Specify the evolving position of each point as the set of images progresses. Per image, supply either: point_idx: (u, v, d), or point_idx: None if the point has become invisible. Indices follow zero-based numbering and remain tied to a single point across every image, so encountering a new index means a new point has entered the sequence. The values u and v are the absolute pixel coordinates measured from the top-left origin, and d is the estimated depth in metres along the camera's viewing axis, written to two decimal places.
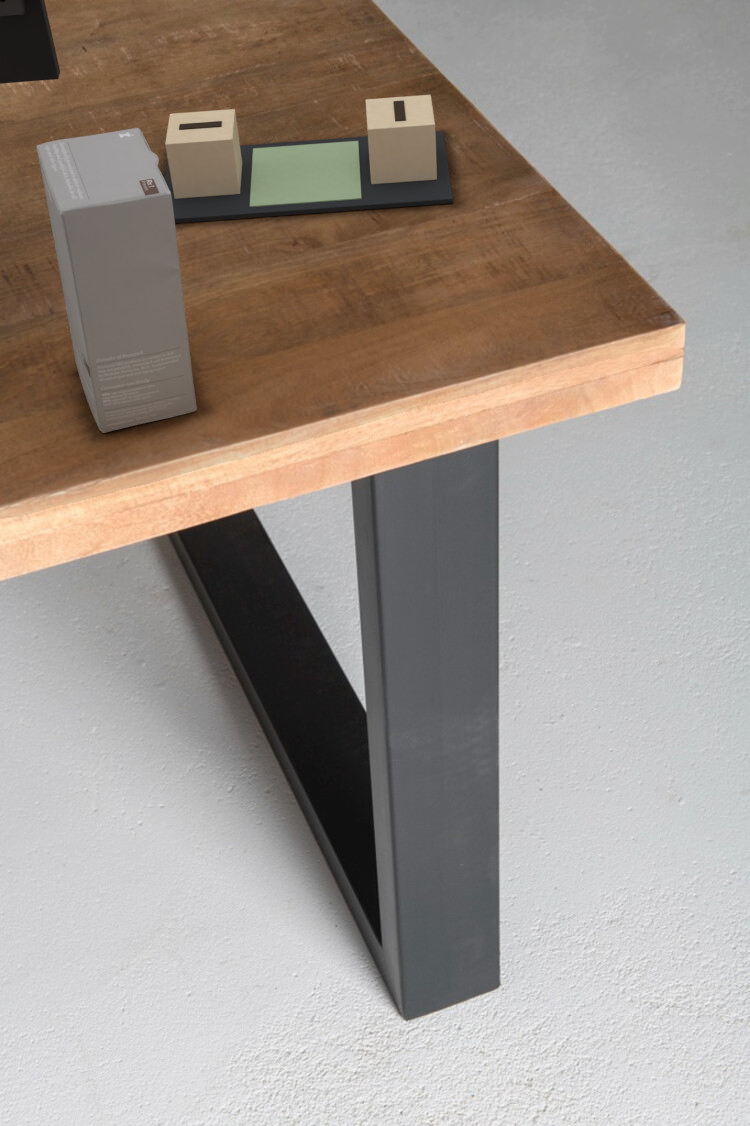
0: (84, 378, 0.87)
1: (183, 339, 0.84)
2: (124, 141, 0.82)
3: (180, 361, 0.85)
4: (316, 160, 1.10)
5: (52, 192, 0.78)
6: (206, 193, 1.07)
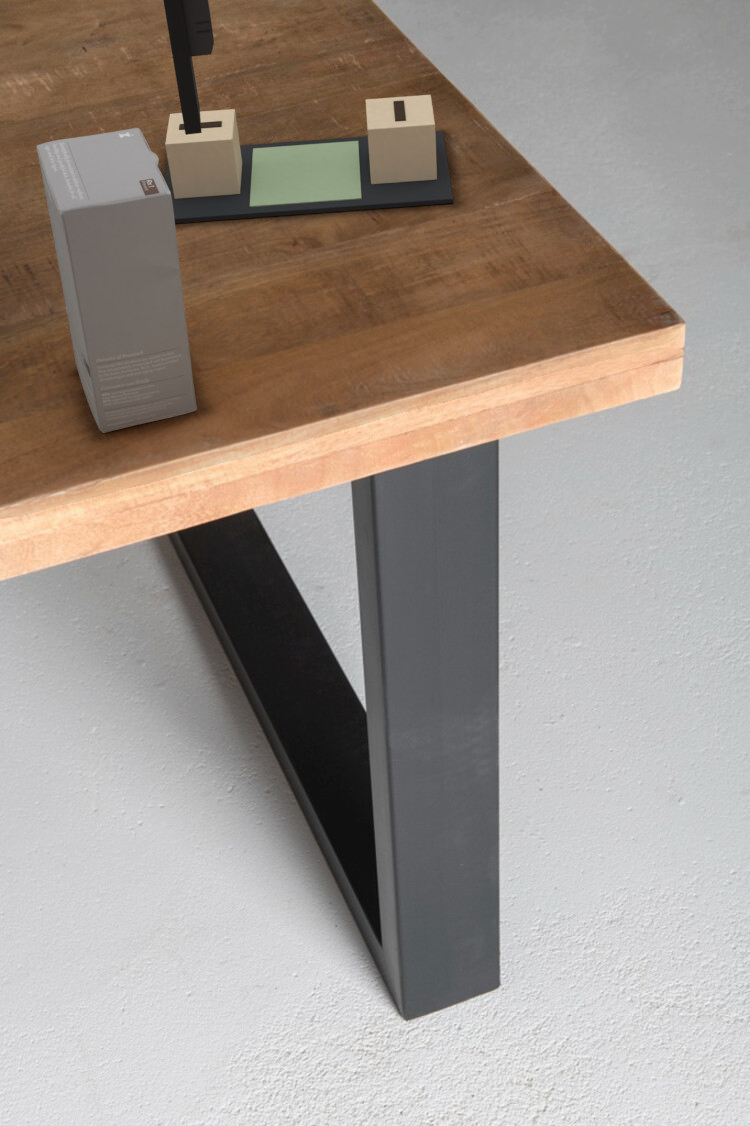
0: (84, 378, 0.87)
1: (183, 339, 0.84)
2: (124, 141, 0.82)
3: (180, 361, 0.85)
4: (316, 160, 1.10)
5: (52, 192, 0.78)
6: (206, 193, 1.07)
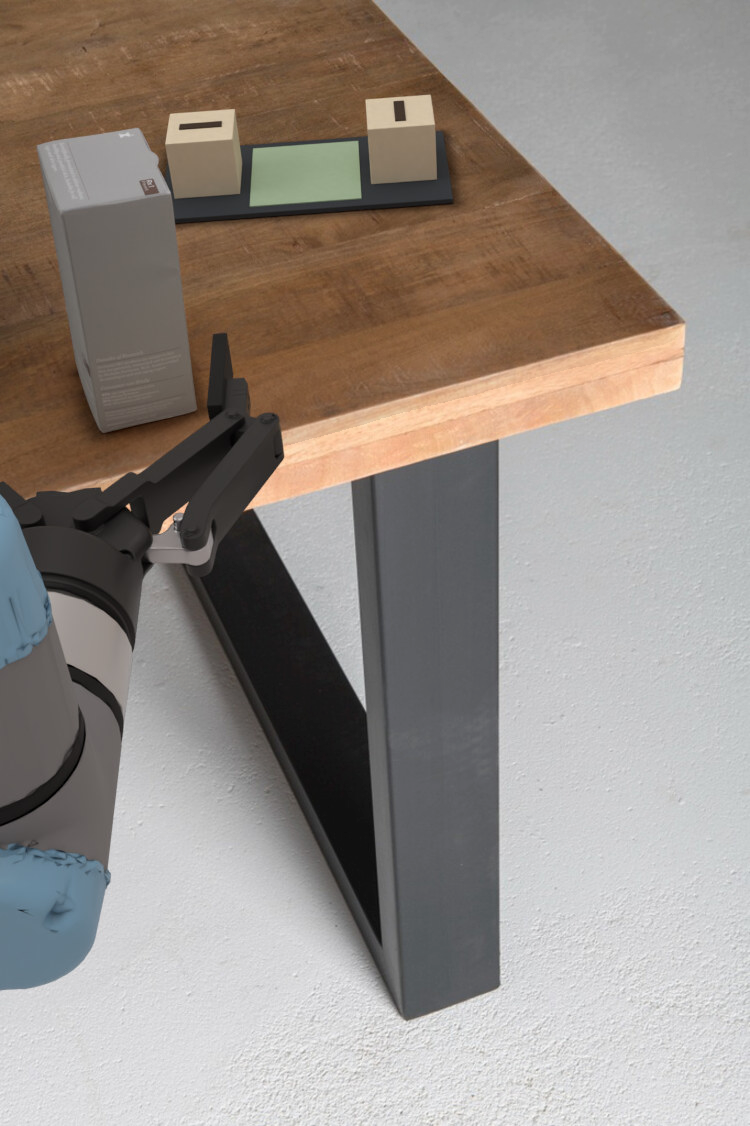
0: (84, 378, 0.87)
1: (183, 339, 0.84)
2: (124, 141, 0.82)
3: (180, 361, 0.85)
4: (316, 160, 1.10)
5: (52, 192, 0.78)
6: (206, 193, 1.07)
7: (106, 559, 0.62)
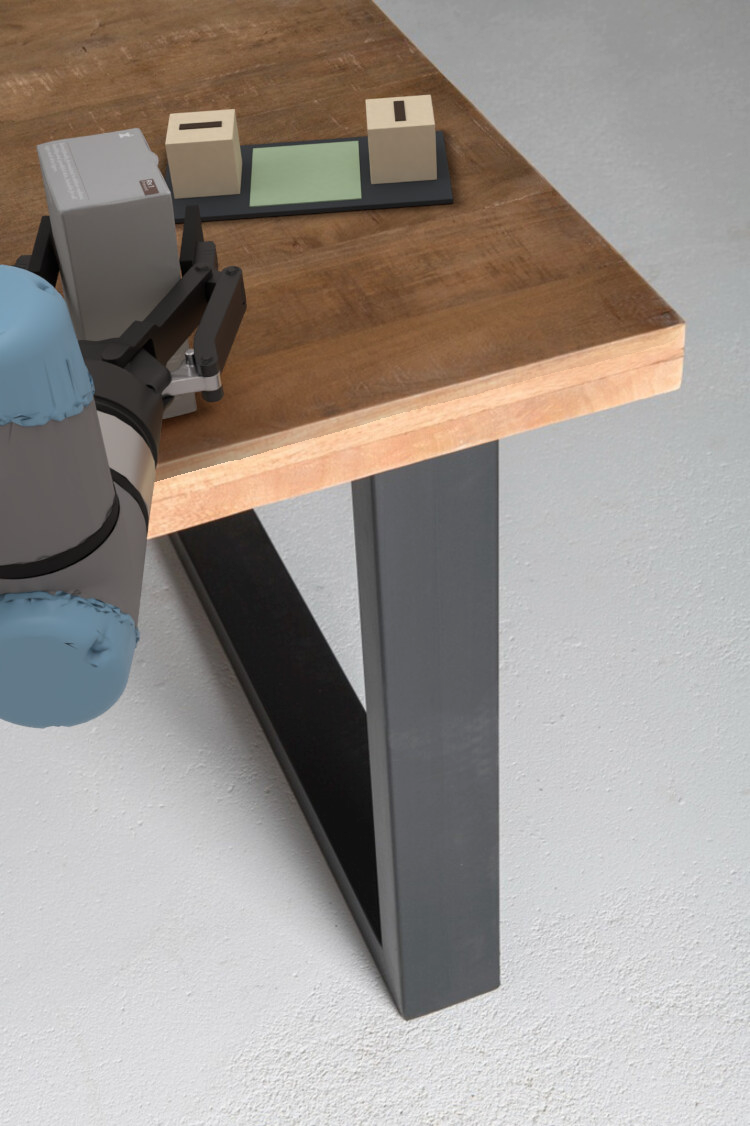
0: None
1: None
2: (124, 141, 0.82)
3: (179, 361, 0.85)
4: (316, 160, 1.10)
5: (52, 192, 0.78)
6: (206, 193, 1.07)
7: (132, 387, 0.71)
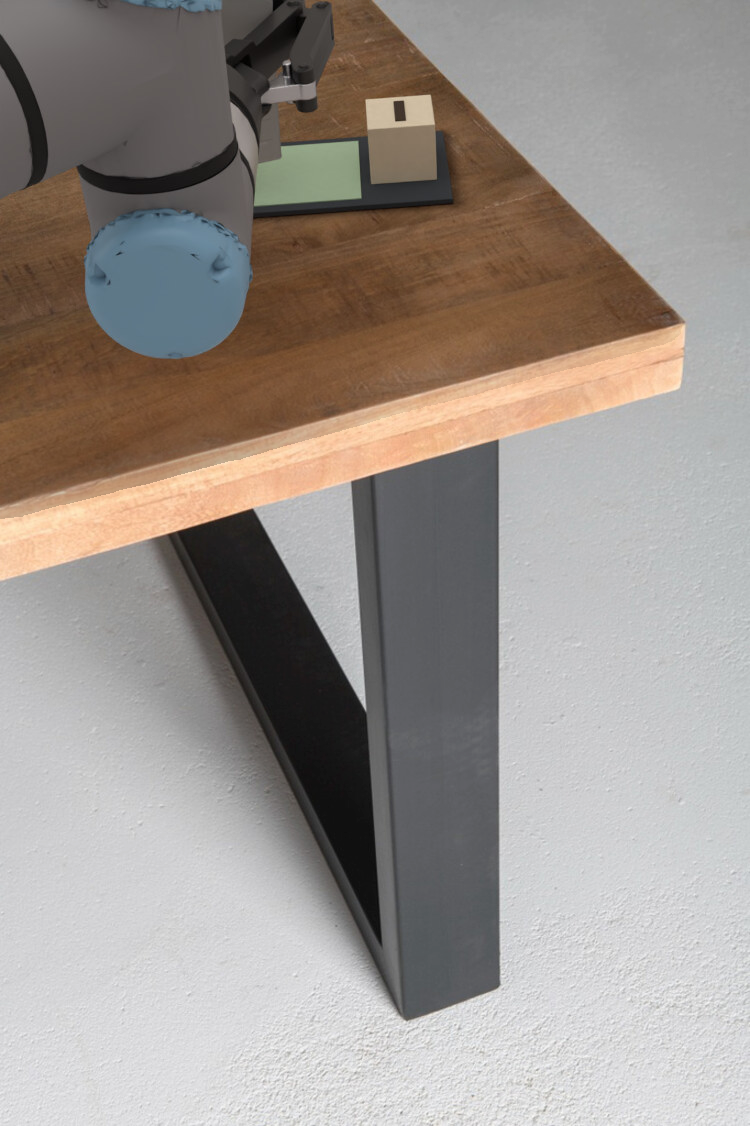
0: None
1: (272, 79, 0.89)
2: None
3: None
4: (316, 160, 1.10)
5: None
6: None
7: (237, 79, 0.76)
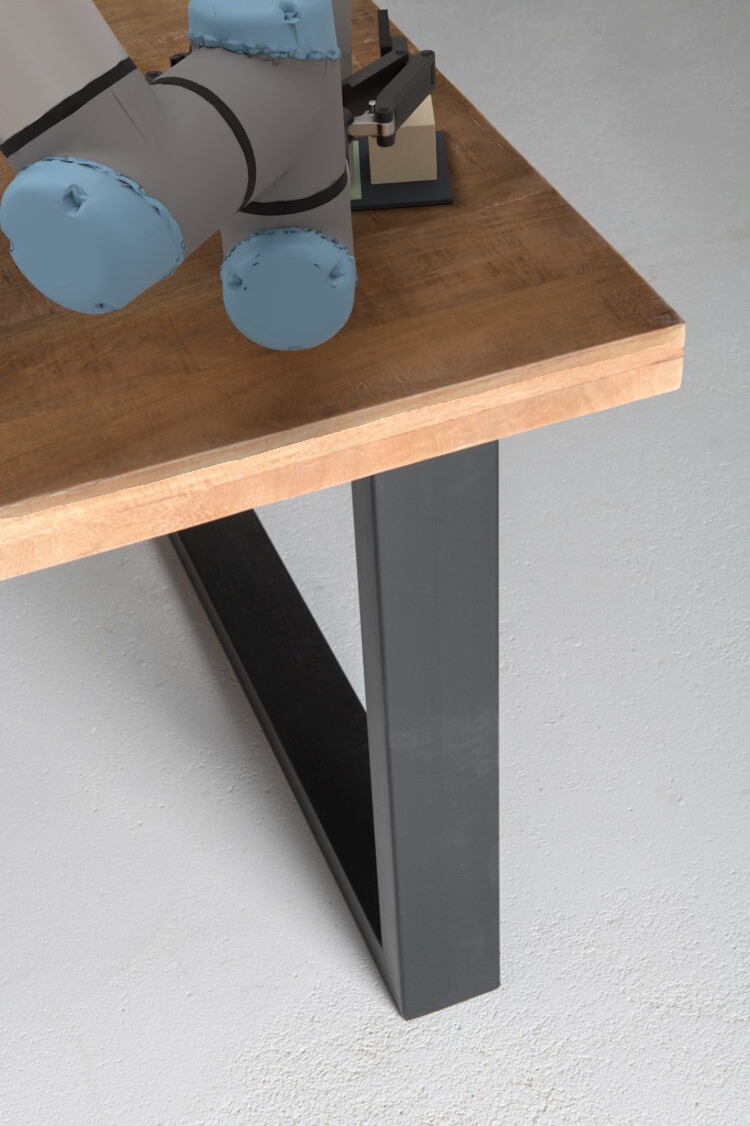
0: None
1: None
2: None
3: None
4: None
5: None
6: None
7: None
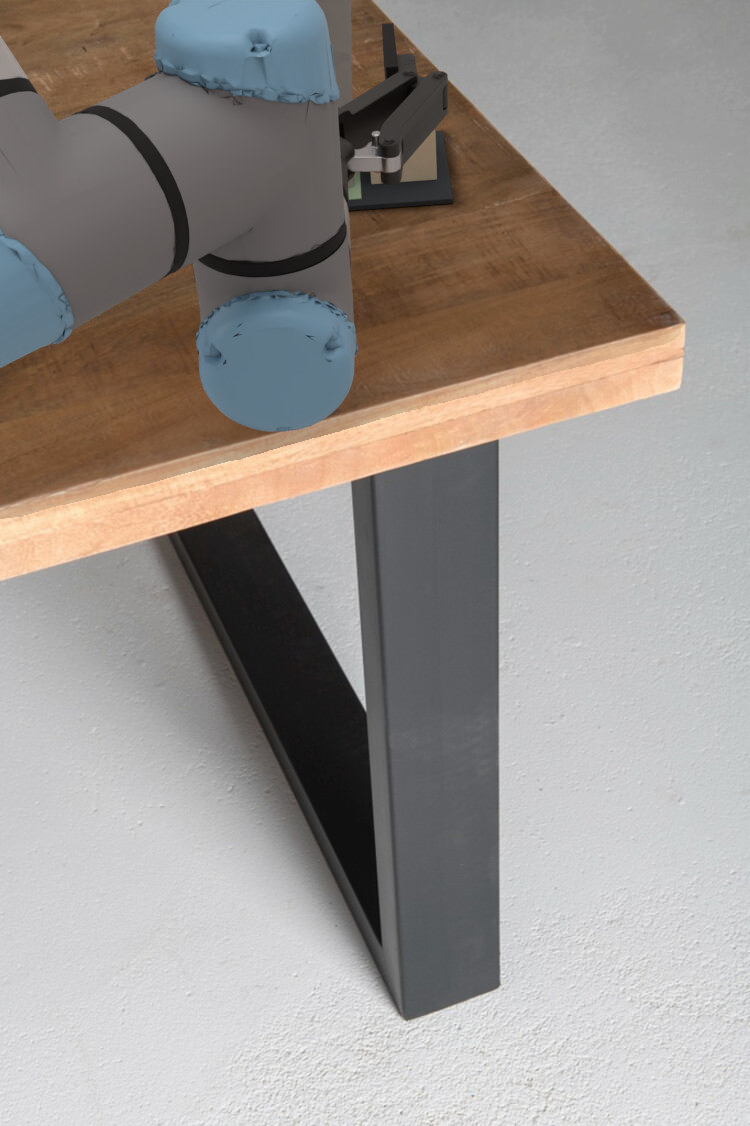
0: None
1: None
2: None
3: None
4: None
5: None
6: None
7: None
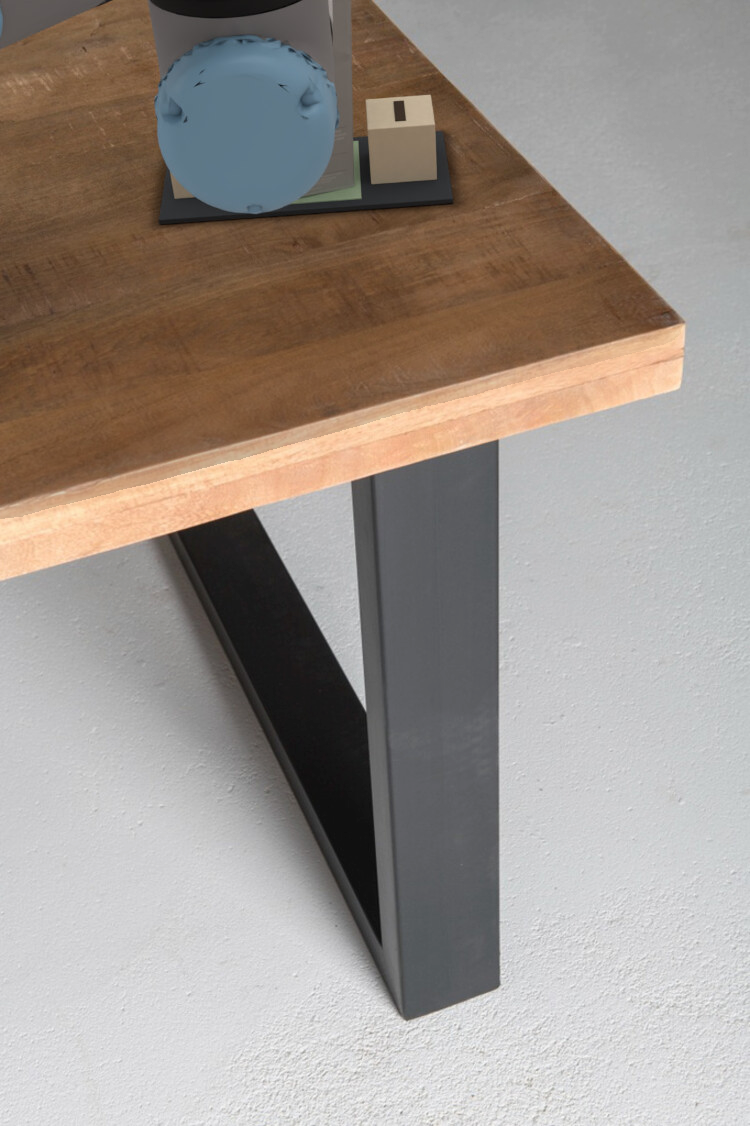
0: None
1: (349, 119, 1.03)
2: None
3: (345, 139, 1.04)
4: None
5: None
6: None
7: None
